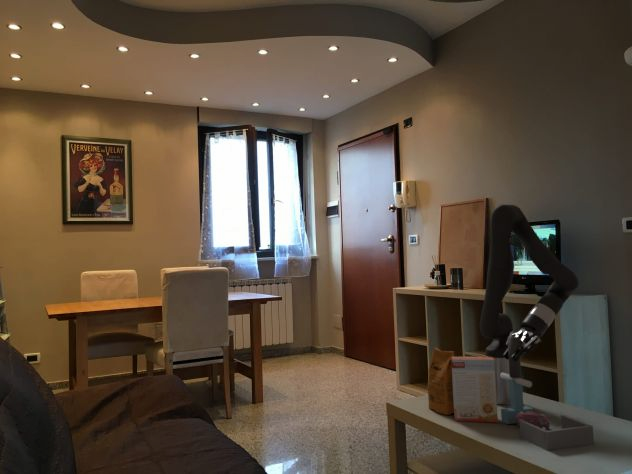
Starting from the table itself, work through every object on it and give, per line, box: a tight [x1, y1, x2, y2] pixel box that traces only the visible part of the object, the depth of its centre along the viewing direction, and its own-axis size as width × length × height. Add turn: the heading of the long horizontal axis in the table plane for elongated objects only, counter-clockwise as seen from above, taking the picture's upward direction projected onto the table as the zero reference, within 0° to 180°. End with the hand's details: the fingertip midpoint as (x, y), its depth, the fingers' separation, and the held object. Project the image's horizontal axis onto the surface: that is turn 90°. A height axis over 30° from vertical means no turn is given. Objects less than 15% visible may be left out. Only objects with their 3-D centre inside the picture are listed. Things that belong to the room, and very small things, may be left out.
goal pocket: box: [519, 414, 595, 451], centre depth 148 cm, size 12×16×5 cm
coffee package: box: [427, 347, 457, 416], centre depth 181 cm, size 10×12×22 cm
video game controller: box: [515, 411, 551, 430], centre depth 158 cm, size 10×5×7 cm, turn 63°
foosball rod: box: [500, 336, 534, 425], centre depth 166 cm, size 14×10×28 cm
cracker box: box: [452, 356, 499, 424], centre depth 170 cm, size 14×6×21 cm, turn 74°
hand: (509, 358), depth 165 cm, fingers closed on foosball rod, 3 cm apart
